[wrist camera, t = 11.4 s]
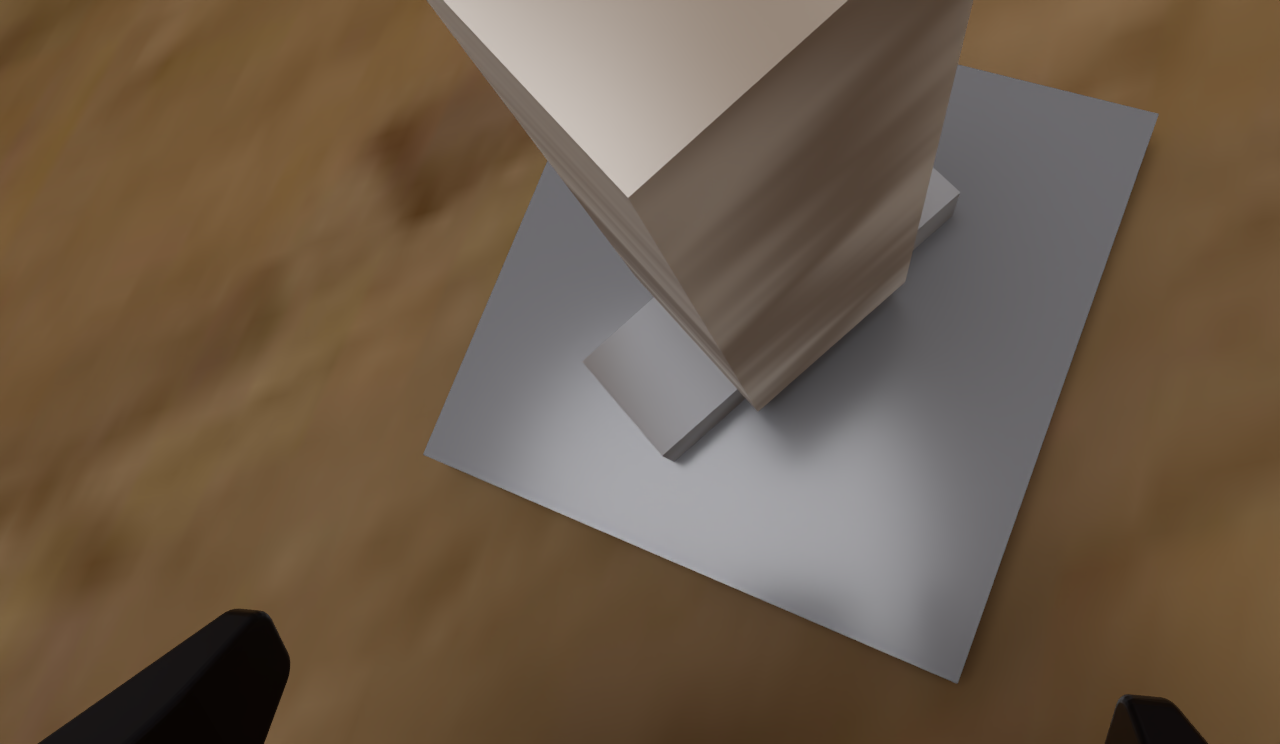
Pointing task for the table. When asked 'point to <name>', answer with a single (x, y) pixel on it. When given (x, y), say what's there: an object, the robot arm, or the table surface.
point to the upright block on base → (732, 172)
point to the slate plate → (829, 388)
